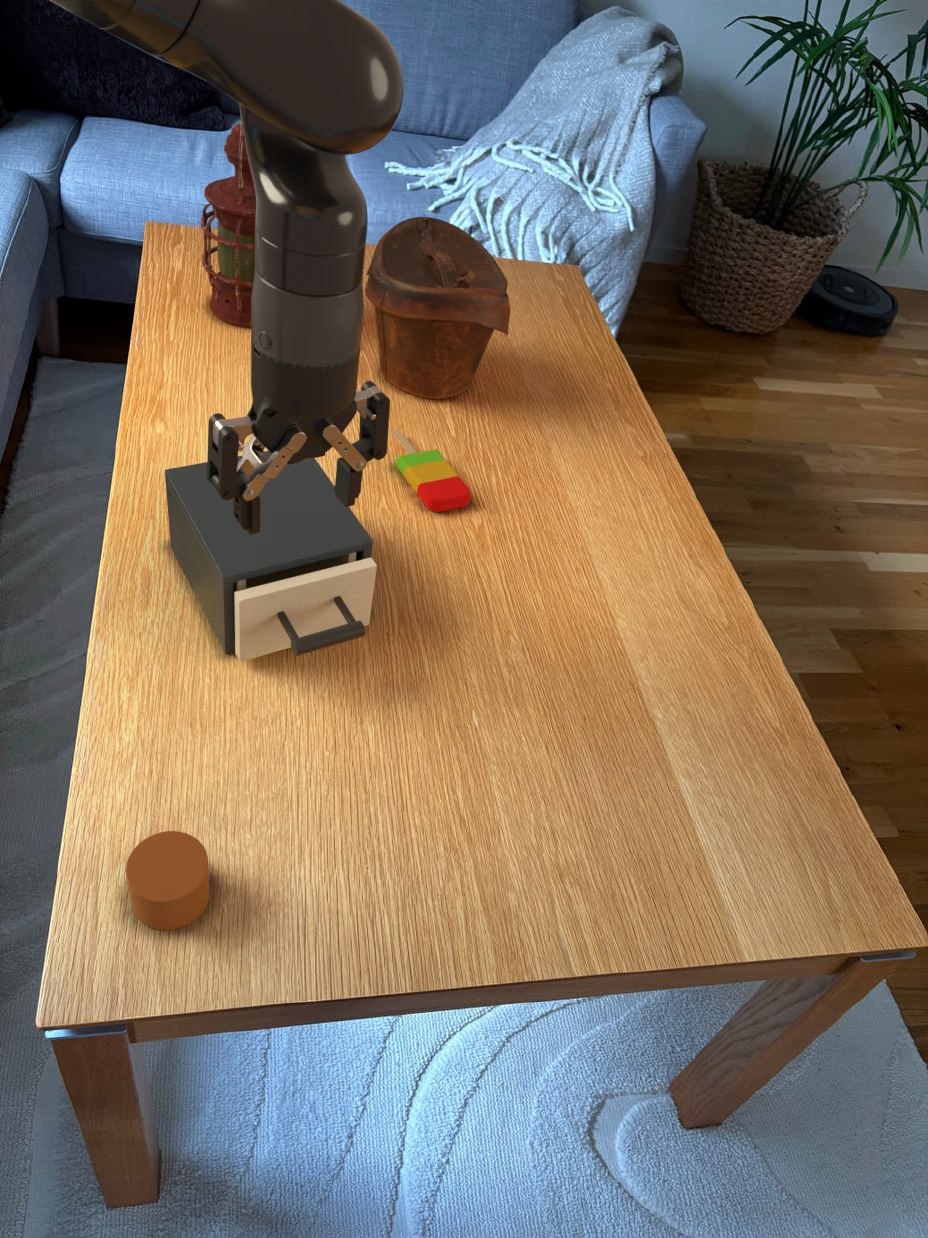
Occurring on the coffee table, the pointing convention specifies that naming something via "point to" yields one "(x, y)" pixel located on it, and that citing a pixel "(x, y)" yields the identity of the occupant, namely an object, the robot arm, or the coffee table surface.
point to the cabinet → (289, 534)
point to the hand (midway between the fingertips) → (298, 514)
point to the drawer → (303, 607)
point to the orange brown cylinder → (168, 880)
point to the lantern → (232, 236)
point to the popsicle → (432, 477)
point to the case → (434, 306)
